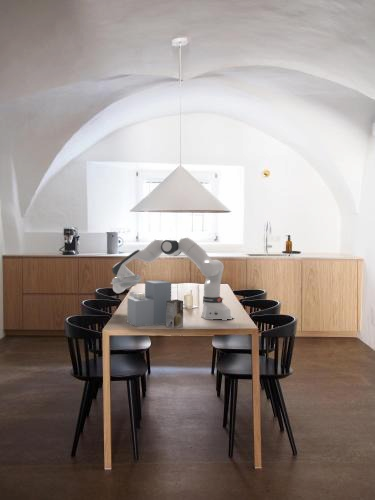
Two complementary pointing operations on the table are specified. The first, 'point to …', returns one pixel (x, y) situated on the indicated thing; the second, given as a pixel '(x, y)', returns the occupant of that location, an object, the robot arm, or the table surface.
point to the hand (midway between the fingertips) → (130, 276)
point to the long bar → (137, 295)
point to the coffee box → (174, 314)
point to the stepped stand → (150, 304)
